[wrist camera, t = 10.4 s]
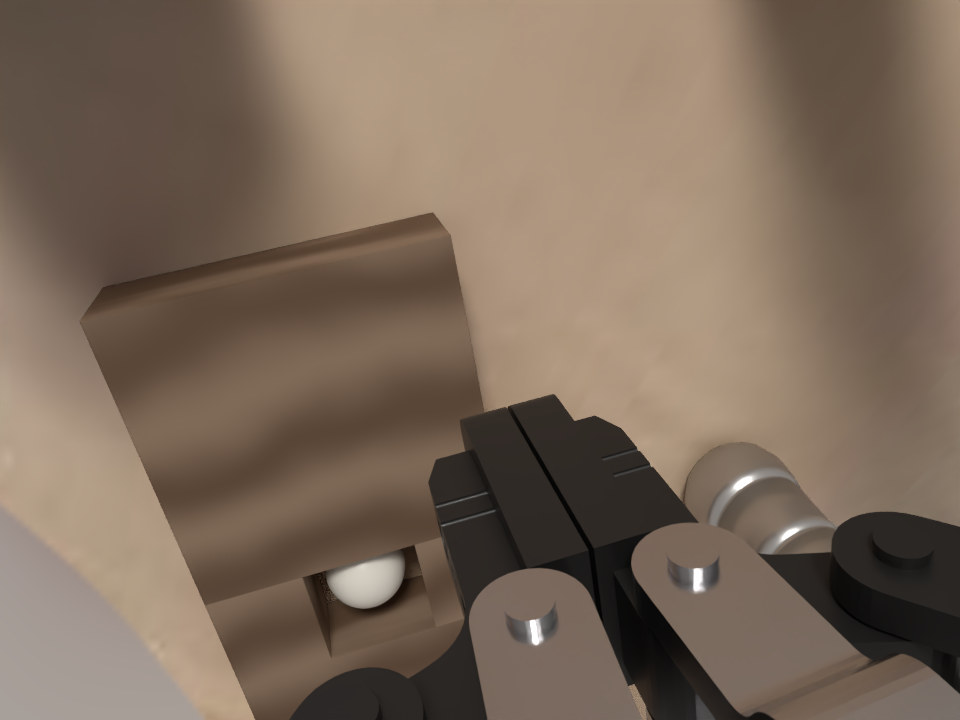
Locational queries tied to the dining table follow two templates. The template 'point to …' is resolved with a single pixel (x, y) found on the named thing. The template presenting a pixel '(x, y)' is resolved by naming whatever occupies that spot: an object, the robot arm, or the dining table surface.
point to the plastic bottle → (756, 501)
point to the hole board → (301, 440)
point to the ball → (368, 580)
